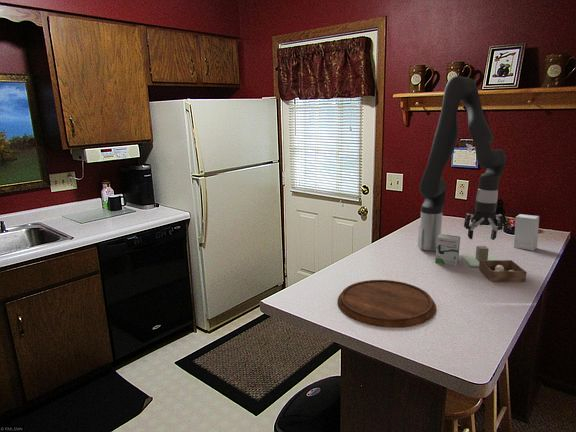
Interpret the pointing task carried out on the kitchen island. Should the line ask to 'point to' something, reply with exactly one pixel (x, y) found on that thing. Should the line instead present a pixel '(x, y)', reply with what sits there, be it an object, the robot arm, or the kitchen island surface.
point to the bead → (499, 268)
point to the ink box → (447, 249)
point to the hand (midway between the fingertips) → (481, 239)
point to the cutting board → (386, 303)
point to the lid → (477, 256)
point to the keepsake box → (502, 276)
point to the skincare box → (526, 232)
